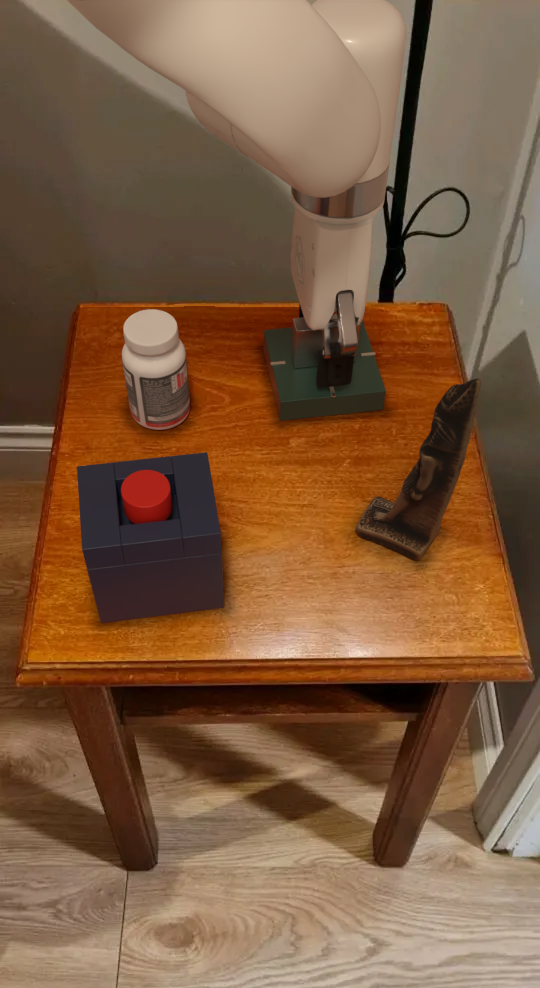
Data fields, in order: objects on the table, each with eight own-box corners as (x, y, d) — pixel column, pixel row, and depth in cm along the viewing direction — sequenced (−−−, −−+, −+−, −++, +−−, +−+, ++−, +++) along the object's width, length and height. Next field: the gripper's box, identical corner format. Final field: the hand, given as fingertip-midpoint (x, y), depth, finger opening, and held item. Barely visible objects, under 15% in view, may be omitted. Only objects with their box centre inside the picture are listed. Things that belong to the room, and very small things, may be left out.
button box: (101, 623, 73) (81, 549, 65) (95, 544, 77) (76, 465, 69) (224, 607, 74) (221, 533, 66) (211, 530, 78) (207, 451, 70)
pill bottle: (201, 400, 87) (196, 316, 79) (172, 440, 84) (164, 357, 76) (148, 382, 88) (138, 297, 80) (119, 420, 85) (105, 337, 77)
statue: (372, 504, 80) (405, 323, 64) (447, 535, 79) (500, 357, 62) (352, 537, 78) (380, 359, 62) (428, 570, 77) (478, 395, 60)
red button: (126, 529, 67) (122, 509, 65) (122, 492, 69) (119, 472, 67) (174, 523, 67) (172, 504, 66) (169, 487, 69) (167, 466, 67)
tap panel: (279, 422, 86) (279, 401, 83) (262, 349, 91) (262, 327, 89) (384, 410, 87) (387, 390, 84) (361, 339, 92) (363, 318, 90)
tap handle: (294, 368, 86) (296, 328, 82) (290, 356, 87) (292, 315, 83) (356, 362, 87) (361, 322, 83) (351, 349, 88) (356, 309, 84)
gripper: (273, 123, 76) (269, 297, 90) (314, 252, 66) (302, 423, 81) (360, 116, 77) (342, 290, 91) (413, 243, 67) (384, 413, 82)
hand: (324, 351), depth 86 cm, fingers open, 8 cm apart
